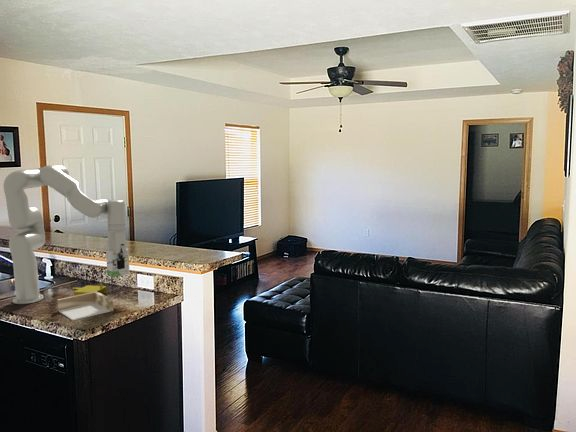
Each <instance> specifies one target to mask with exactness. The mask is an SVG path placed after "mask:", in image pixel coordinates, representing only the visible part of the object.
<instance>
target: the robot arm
mask: <svg viewBox="0 0 576 432" xmlns="http://www.w3.org/2000/svg"><path fill="white" fill-rule="evenodd" d="M2 186H3V193H4V196H5V201H6V210H7V216H8V223H9V225H10V227H11V228H12V229H14V230H23V231H21V232H17V233H15V234H13V235H12V236H11V237H10V239H9V241H8V248H9V252H10V255H11V260H12V266H13V267H12V268H13V277H14V278H13V279H14V288H15V297H13V299H12V303H13V304H16V305H28V304H32V303H36V302H40V301H42V300H43V299H45V297H44V295H43V294H42V293H40V284H39V283H40V282H39V271H38V263H37V257H36V256H35V253H34V251H35V250H38V249H40V248H42V247H43V246H44V245H45V242H46V232H45V225H44V216H43V214H42V212H41V210H40V209H38V208H37V207H35V206H32V205H29V199H28V196H27V194H26V192H25V190H26V189H32V188H34V189H35V188H39V187H45V186H46V187H47V186H49V188H51V189H53V190H54V191H56V192H57V193H59V194H61V196H63V197H64V198H66V200H67V202H68V203H69V204H70V205H71V206H72V208H74V209H75V210H77V211H78V212H80V213H81V214H83V215H84V216H86V217H88V218H91V219H96V218H99V217H102V216H106V217H107V241H106V242H107V249H106V250H108V249H110V250H112V251H114V254H117V257H118V260H117V269H124V268H125V256H126V249H127V237H126V231H127V229H126V228H127V227H126V203H125V200H122V199H108V198H97V199H91V198H90V197H88V196H87V195H85V194H84V193H83V192H82V191H81V190H80V182H79V181H77V180H75V178H72V177H71V176H70V174H69V171H68V169H67V167H65V166H63V165H61V164H51V165H50V164H49V165H45V166H43V167H38V168H36V167H35V168H27V169H18V170H15V171H12V172H11V173H9V174H8V175H6V177H5V179H4V181H3V185H2ZM119 252H122V253H119ZM120 255H121V256H120Z"/></svg>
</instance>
